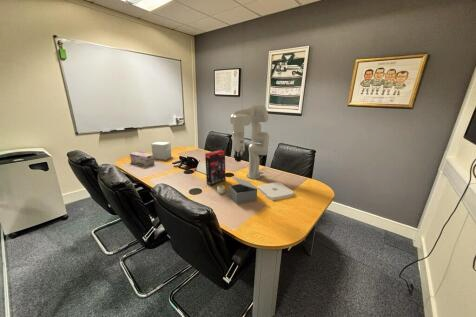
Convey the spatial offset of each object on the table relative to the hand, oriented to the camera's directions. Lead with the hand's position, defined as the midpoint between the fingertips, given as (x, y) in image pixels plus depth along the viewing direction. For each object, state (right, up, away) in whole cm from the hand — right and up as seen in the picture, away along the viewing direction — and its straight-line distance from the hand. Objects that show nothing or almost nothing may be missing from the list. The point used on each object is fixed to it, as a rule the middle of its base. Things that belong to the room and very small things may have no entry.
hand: (237, 160), depth 133 cm
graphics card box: (-19, -19, +35) cm, 44 cm away
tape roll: (-13, -25, +18) cm, 33 cm away
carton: (+3, -27, +10) cm, 29 cm away
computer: (+29, -25, +21) cm, 44 cm away
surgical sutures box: (-104, -4, +78) cm, 130 cm away
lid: (+5, -16, +8) cm, 19 cm away
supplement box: (-91, +2, +99) cm, 135 cm away
